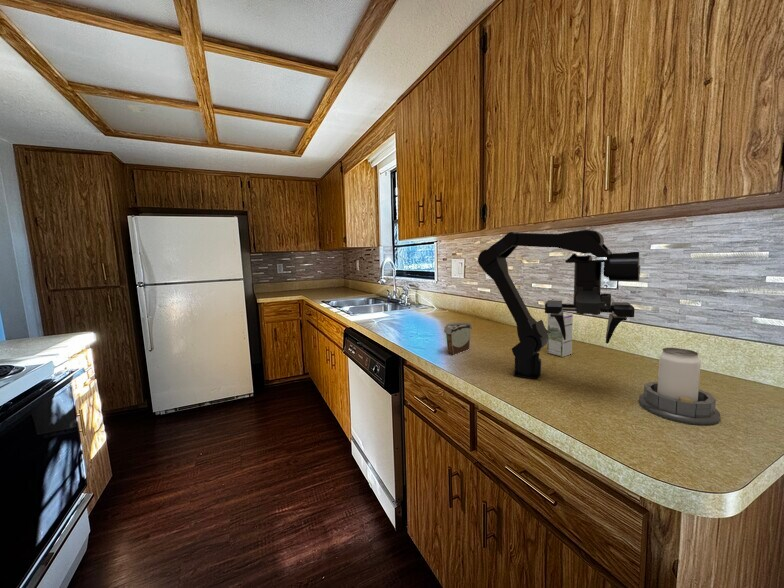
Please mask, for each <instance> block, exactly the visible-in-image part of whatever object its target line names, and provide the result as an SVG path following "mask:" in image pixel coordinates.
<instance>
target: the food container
mask: <svg viewBox="0 0 784 588" xmlns="http://www.w3.org/2000/svg"><path fill="white" fill-rule="evenodd" d="M472 328H473V326H472V323H471V322H451V323H447V324H446V325H445V327H444V329H443V333H444V334H445V336H446V346H447V353H448V354H449V355H450V354H451V355H450V356H453V355H454V356H456V355H455V354H457V355H459V354H458V353H460V352H462V353H464V352H463V351H465V352H467V351H466V350H468V349H469V350H471V349H470V346H471V345H470V344H471V330H472ZM469 350H468V351H469ZM460 354H461V353H460Z"/></svg>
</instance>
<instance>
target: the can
mask: <svg viewBox="0 0 784 588" xmlns="http://www.w3.org/2000/svg"><path fill="white" fill-rule="evenodd" d="M658 361H659V363H658V373H657V374H658V375H657V382H658V389H657V393H659V394H661V395H663V396H667V397H670V398H674V399H677V400H679V397H685V398H691V399H692V400H693V402H697V401H698V391H699V389H700V376H701V360H700V358H699V353H698V352H697V351H695V350H691V349H686V348H679V347H665V348H662V352H660V355H659V359H658Z"/></svg>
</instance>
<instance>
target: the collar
mask: <svg viewBox="0 0 784 588" xmlns="http://www.w3.org/2000/svg"><path fill="white" fill-rule="evenodd" d="M657 389H658V381H649V382H648V383H645V384H644V386H643V393H641V394H640V395H639V396H638V404H639V406H640V407H641V408H642V409H644V410H645V411H647V412H649V413H651V414H653V415H655V416H657V417H659V418H662V419H666V420H668V421H669V420H670V421H673V422H677V423H680V424H685V425H693V426H715V425H717V424H719V423H720V422H721V412H720V411H719V410H717V409H716V401H717V399H716V398H715V397H714V396H713V395H712V394H711V393H709V392H706V391H704V390H702V389H700V388H699V391H698V401H697V402H693V400H692V399H691V398H685V397H679V400H677V399H674V398H670V397H667V396H663V395H661V394H659V393H657Z"/></svg>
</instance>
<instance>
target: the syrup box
mask: <svg viewBox="0 0 784 588" xmlns="http://www.w3.org/2000/svg"><path fill="white" fill-rule="evenodd" d="M573 314H574V313H571V312H567V311H563V315H564V323H565V331H566V340H564V338H563V335H562V332H561V329H560V326H559V324H558V322H557V320H556V318H555V317H551V316H550V314H549V313H547V330H548V331H549V333H548V337H549V340H548V342H547V344H546V345H547V349H546V350H547V352H546V353H547V354H548V355H549V354H550V355H552V354H553V355H552V356H556V355H557V356H556V357H561V358H564V356H565V357H568V356H567V355H569V356H571V355H572V354H573V325H574V323H573V322H574V320H573V319H574V318H573V317H574V315H573ZM570 354H571V355H570Z"/></svg>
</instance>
